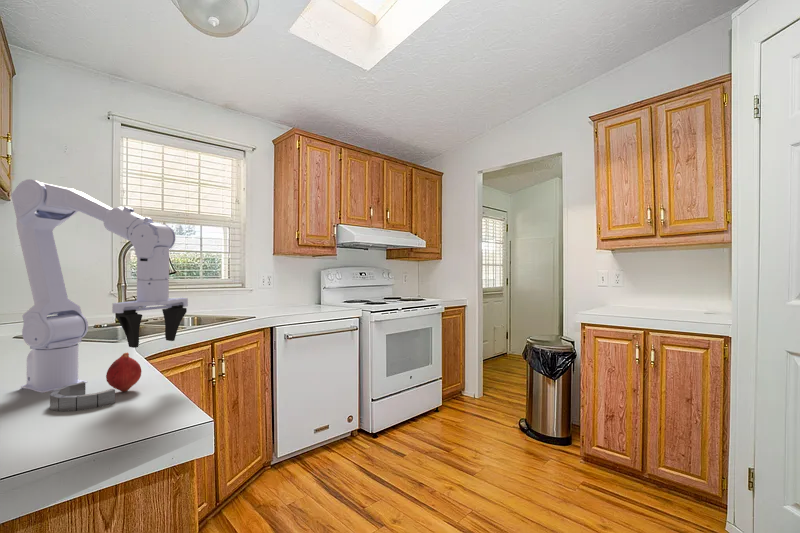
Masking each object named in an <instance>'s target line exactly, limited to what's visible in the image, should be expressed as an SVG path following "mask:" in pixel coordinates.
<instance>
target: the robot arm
mask: <svg viewBox="0 0 800 533" xmlns="http://www.w3.org/2000/svg"><path fill="white" fill-rule="evenodd" d="M10 196H11V199H12V203H13V204H12V205H13V210H14V214H15V217H16V223H15V224H16V230H17V234H18V239H19V244H20V246H21V251H22V255H23V260H24V265H25V268H26V274H27V277H28V282H29V285H30V287H29V288H30V290H31V295H32V299H33V305H32V307H30V308H29V309H27V311H26V312H24V313H23V314H22V320H23V325H22V326H23V327H22V330H21V332H22V339H23V341H24V343H25V344H27V345H28V346H29V349H30V351H29V352H28V354H27V357H26V384H22V385H20V388H21V389H25V390H26V389H28V390H32V391H33V392H34V391H35V392H37V393H42V394H43V393H48V392H52V391H53V390H56V389H58V388H61V387H63V386H66V385H70V384H75V383H79V382H85V384H86V383H88V381H87V380H84V379H79V343H82V338H84V337H85V336H86V335H87V333H88V330H89V322H88V320H87V318H86V317H85V315H84V314H83V313H82V308H81V306H80V305H78V304H77V303H76V302H74V301H72V300H71V299H69V298H68V292H67V288H66V284H65V280H64V276H63V271H62V266H61V263H60V262H61V261H60V259H59V254H58V249H57V245H56V240H55V236H54V233H53V232H54V230H55V228H57V227H59V226H60V225H63V224H64V223H65V222H66V221H68V220H69V219H70V218H72V217H73V216H74V215H76V214H77V213H78V212H80V213H82V214H85V215H87V216H90V217H92V218H95V219H96V220H99V221H101V222H103V226H104V228H105V230H107V231H109V232H111V233H113V234H115V235H117V236H119V237H121V238H123V239H126V240H127V241H129V242H130V243H131V245H132V246H133V248H134V251H135V252H134V255H135V256H136V268H137V269H136V300H130V301H123V302H113V303H112V304H111V305H112V310H111V311H112V313H113V314H114V315H115V318H116V320H117V322H118V323H119V324H120V326H121V327H122V329H123V332H124V333H125V334H124V335H125V337H126V341H127V344H128V347H129V348H134V349H135V348H139V344H140V329H141V328H140V327H141V322H142V319H143V314H141V313H138V312H139V311H140V312H141V311H142V312H143V311H149V310H151V311H152V310H160V309H161V311H162V314H163V318H164V336H165V340H166V341H170V342H174V341H175V339H176V335H177V334H178V329H179V327H180V324H181V322H182V320H183V318H184V316H185V315H186V314H187V308H186V307H188V306H189V302H188V301H189V299H188V297H175V298H172V297H171V298H170V297H169V294H170V290H169V289H170V283H169V282H170V249H172V248H173V246H174V245H175V243H176V234H175V231H174V230H173V229H172V228H171V227H170V226H168V224H166V223H154V221H153V220H154V219H153V218H151V217H149V216H142V215H140V214H137V213H136V212H135V208H132V207H129V206H117V207H116V206H115V207H110V206H109V205H107V204H105V203H104V202H102V201H99V200H98V199H95V198H94V197H92V196H90V195H89V194H86V193H85V192H83V191H80V190H76V189H75V188H72V187H65V186H60V185H56V184H50V183H45V182H43V181H42V182H40V181H39V180H36V179H31V178H30V179H25V180H22V181H21V182H20V183H18V184H17V186H16V187H15V189H14V190H13V191H12V192H11V194H10Z"/></svg>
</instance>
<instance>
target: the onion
mask: <svg viewBox="0 0 800 533" xmlns="http://www.w3.org/2000/svg"><path fill="white" fill-rule="evenodd" d="M141 367H142V366H141V365H140V364H139V361H137V360H135V359H134V358H132V357H130V354H129V352H124V353H122V355H121V356H120V357H119V358H117V359H115V360H114V361H113V362H112V363H111V365H110V366H109V367H108V369H107V371H106V374H105V377H106V378H105V379H106V382H107V383H108V385H109V386H111V387H112V389H115V390H118V391H119V392H122V393H123V392H124V393H125V392H128V391H129V390H130V389H131V388H132V387H133V386H134V385H136V383H138V382H139V380H140V378H141V377H142V368H141Z"/></svg>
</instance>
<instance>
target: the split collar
mask: <svg viewBox="0 0 800 533" xmlns="http://www.w3.org/2000/svg"><path fill="white" fill-rule="evenodd" d="M113 404H116V389H115V388H109V389H107V390H102V391H99V392H94V393H88V394H87V393H86V383H85V382H79V383H75V384H70V385H66V386H63V387H61V388H58V389H56V390H53V391H51V393H50V395H49V410H51V411H54V412H58V413H62V412H80V411H85V410H86V411H87V410H93V409H97V408H98V409H99V408H102V406H103V407H105V406H110V405H113Z"/></svg>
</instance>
